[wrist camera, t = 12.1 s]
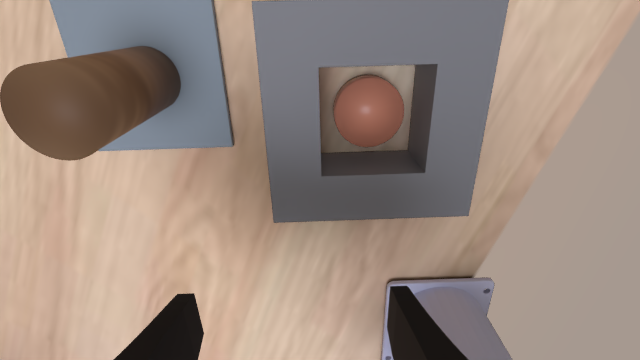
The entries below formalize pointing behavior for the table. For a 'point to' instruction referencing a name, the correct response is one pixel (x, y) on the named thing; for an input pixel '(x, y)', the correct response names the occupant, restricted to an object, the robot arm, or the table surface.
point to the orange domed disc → (368, 111)
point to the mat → (178, 45)
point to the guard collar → (426, 116)
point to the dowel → (87, 99)
